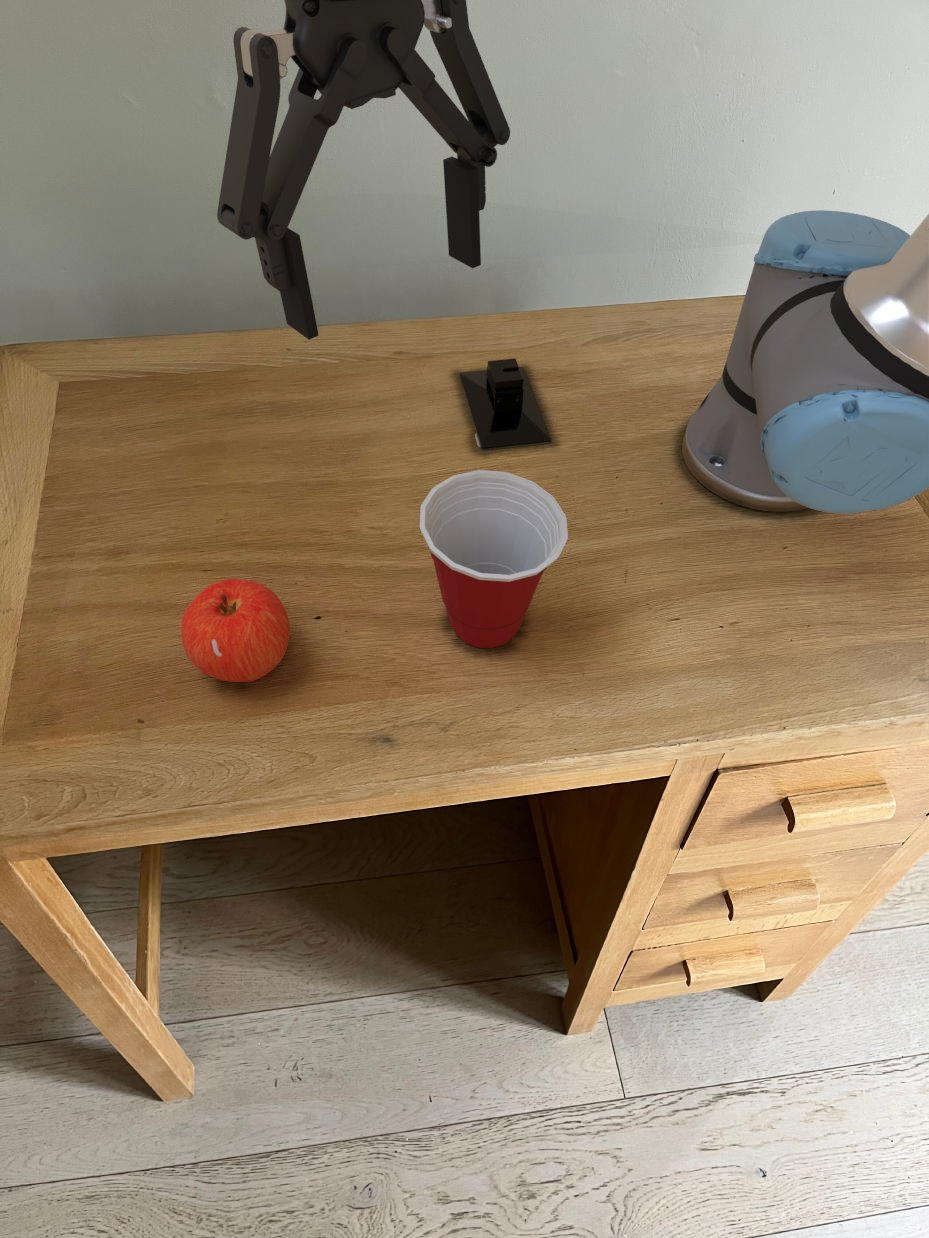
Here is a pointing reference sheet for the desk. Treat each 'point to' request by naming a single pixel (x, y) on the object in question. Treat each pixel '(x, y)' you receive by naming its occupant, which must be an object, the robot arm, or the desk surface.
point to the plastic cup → (490, 549)
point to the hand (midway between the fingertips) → (387, 294)
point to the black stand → (503, 406)
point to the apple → (235, 630)
